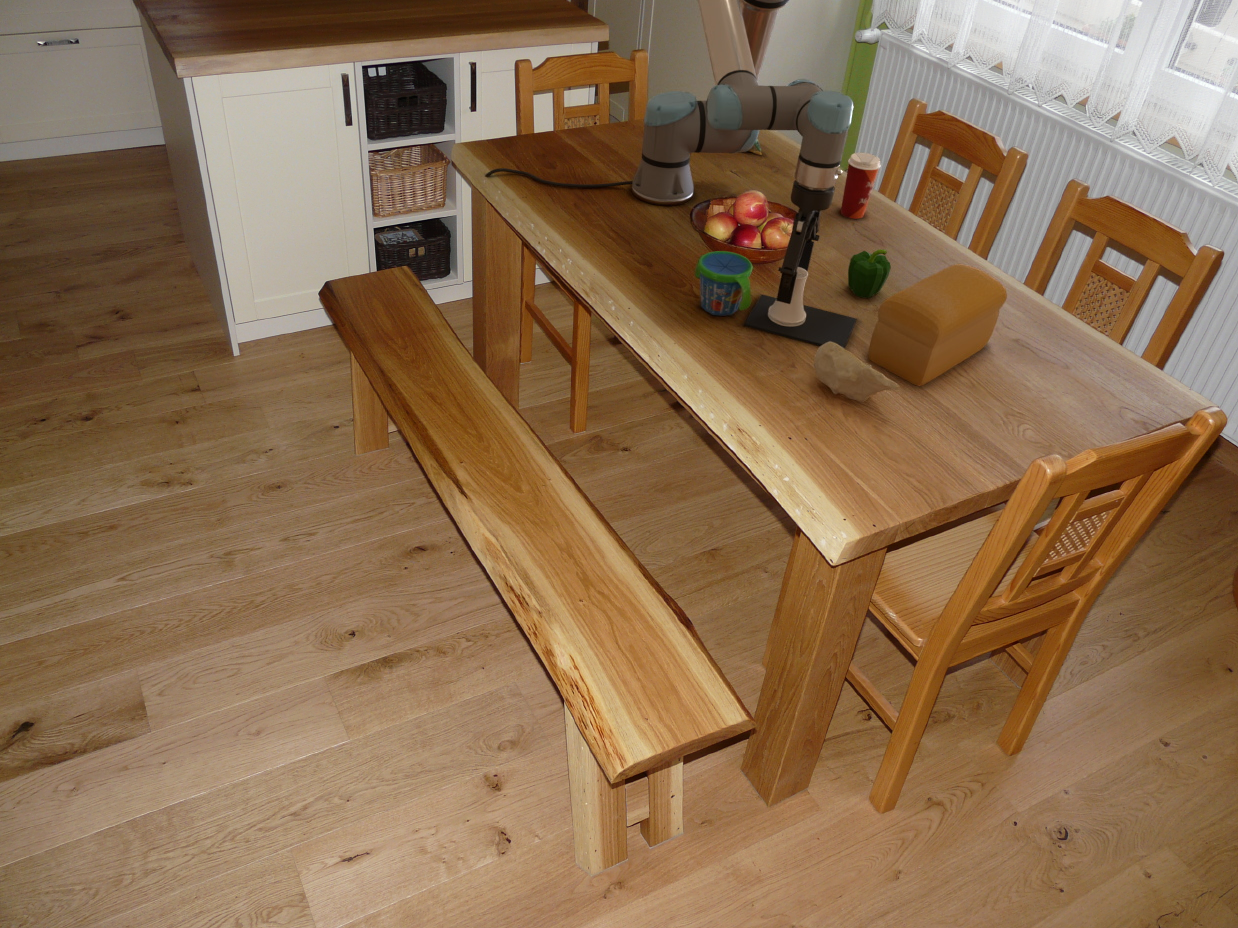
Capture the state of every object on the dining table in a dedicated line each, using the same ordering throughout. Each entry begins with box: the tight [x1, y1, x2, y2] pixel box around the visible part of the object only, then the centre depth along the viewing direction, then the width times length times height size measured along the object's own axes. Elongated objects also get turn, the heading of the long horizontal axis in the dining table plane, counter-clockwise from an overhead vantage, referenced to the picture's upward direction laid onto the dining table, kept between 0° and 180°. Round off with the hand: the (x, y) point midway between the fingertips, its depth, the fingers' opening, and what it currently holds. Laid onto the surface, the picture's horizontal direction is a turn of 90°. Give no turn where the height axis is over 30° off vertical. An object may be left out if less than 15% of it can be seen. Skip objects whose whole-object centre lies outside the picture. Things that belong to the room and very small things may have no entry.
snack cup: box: [694, 250, 754, 317], centre depth 185 cm, size 16×10×10 cm
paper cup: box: [840, 152, 882, 220], centre depth 223 cm, size 8×8×14 cm
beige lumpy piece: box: [813, 341, 900, 403], centre depth 167 cm, size 15×7×15 cm
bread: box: [868, 263, 1008, 387], centre depth 176 cm, size 24×13×15 cm, turn 132°
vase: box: [768, 267, 809, 327], centre depth 183 cm, size 8×8×10 cm
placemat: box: [743, 294, 857, 349], centre depth 186 cm, size 20×13×1 cm, turn 68°
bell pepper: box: [847, 249, 892, 299], centre depth 194 cm, size 8×8×10 cm
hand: (792, 285), depth 182 cm, fingers open, 13 cm apart
